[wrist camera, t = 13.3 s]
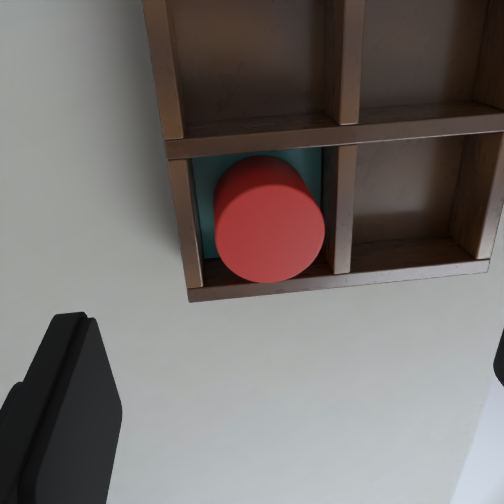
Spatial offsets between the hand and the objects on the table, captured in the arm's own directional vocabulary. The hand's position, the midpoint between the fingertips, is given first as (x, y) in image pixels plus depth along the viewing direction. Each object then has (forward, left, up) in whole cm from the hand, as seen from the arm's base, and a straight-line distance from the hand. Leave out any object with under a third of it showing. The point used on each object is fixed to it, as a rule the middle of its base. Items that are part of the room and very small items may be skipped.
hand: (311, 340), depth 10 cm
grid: (-2, +3, -11) cm, 11 cm away
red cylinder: (+1, 0, -10) cm, 10 cm away
